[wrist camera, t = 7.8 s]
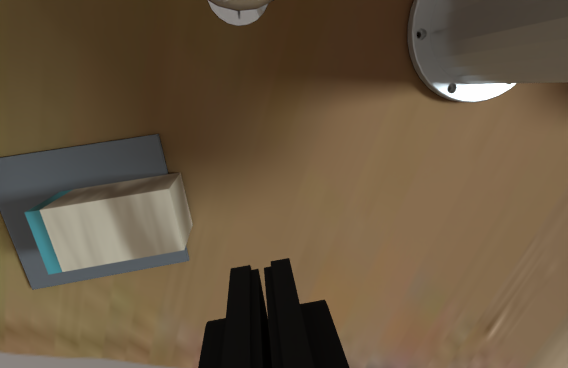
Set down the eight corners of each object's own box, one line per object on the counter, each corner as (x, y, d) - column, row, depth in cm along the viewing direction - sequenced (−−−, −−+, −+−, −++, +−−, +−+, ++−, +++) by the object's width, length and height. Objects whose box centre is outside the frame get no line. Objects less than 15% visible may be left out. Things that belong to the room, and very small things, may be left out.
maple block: (169, 188, 24) (24, 212, 23) (184, 250, 26) (48, 274, 25) (180, 172, 29) (60, 191, 28) (192, 224, 30) (79, 244, 30)
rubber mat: (158, 133, 28) (157, 134, 28) (189, 258, 32) (188, 260, 31) (-17, 160, 27) (-21, 161, 27) (35, 287, 30) (32, 289, 30)
